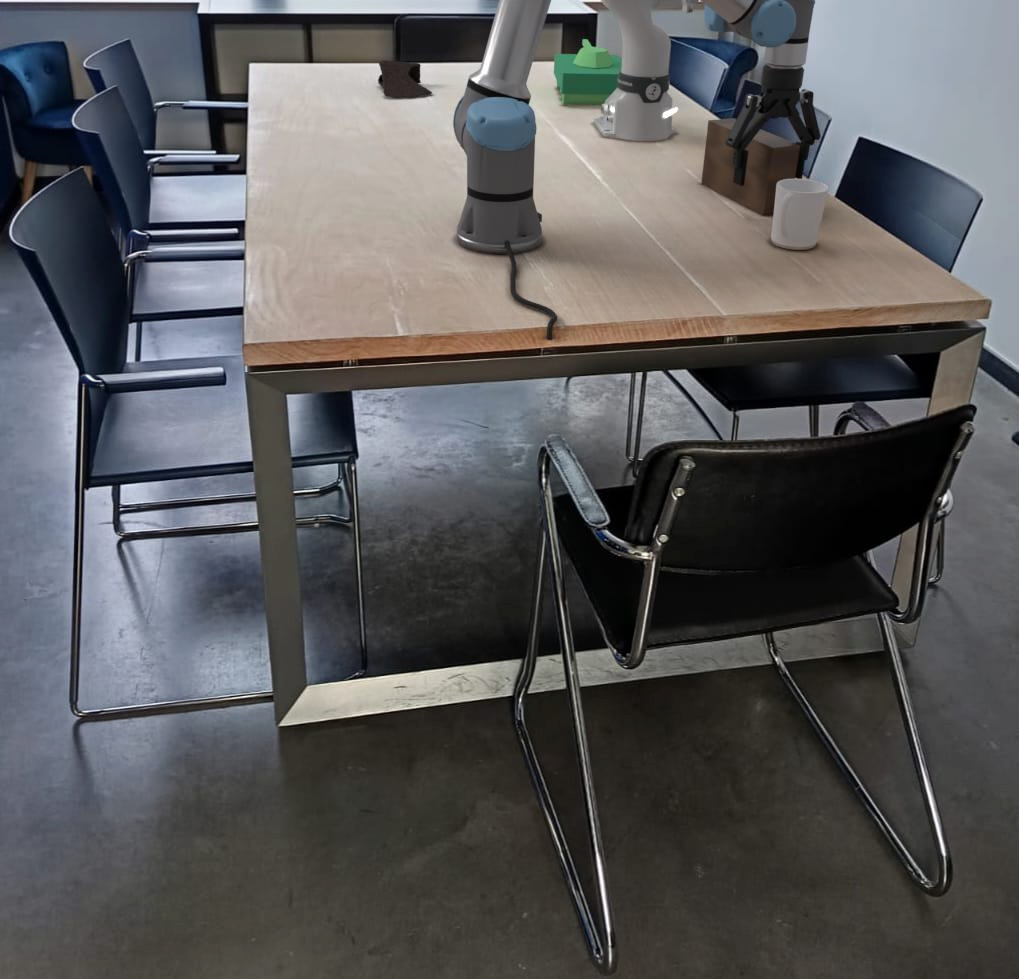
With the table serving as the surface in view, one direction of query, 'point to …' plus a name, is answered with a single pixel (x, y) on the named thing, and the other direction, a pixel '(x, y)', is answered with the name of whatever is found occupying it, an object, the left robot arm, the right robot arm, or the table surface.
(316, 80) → the table surface
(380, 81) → the axe head
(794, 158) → the box
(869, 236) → the table surface
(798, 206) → the mug
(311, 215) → the table surface
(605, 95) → the toy tank
